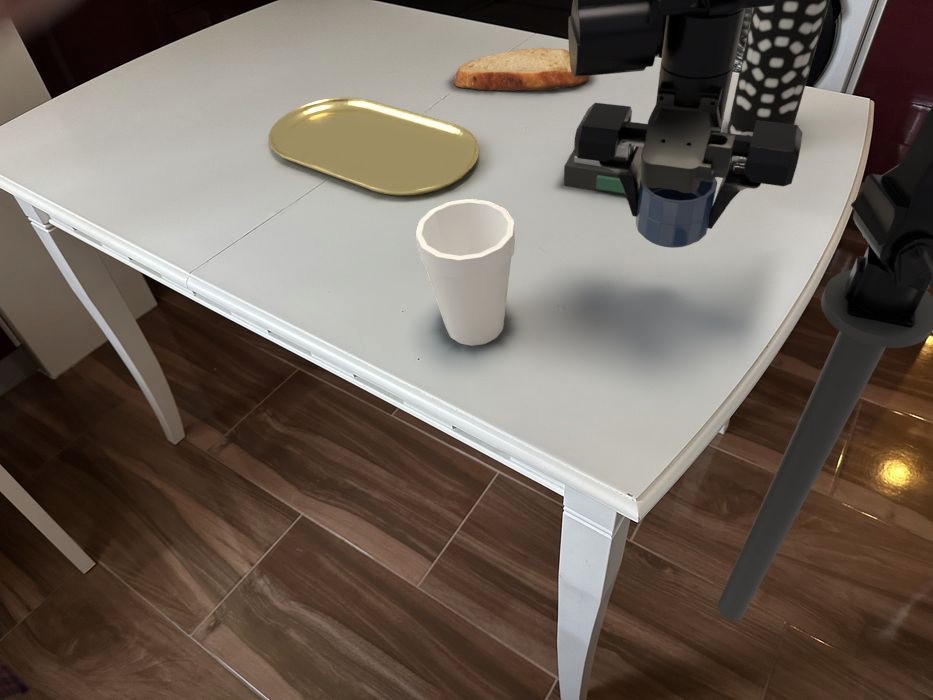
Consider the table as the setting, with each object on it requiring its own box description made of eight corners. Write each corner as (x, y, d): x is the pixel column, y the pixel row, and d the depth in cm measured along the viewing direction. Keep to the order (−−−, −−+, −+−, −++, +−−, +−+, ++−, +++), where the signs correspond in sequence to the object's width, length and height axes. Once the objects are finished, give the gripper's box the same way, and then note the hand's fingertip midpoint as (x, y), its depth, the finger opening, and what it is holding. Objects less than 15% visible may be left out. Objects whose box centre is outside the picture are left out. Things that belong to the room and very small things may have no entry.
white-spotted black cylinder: (722, 147, 94) (754, -8, 79) (730, 117, 99) (762, -33, 84) (787, 155, 91) (833, -3, 77) (792, 124, 96) (836, -30, 82)
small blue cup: (711, 214, 69) (722, 166, 65) (700, 256, 64) (710, 207, 60) (643, 204, 71) (649, 157, 67) (628, 243, 67) (633, 196, 63)
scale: (689, 153, 94) (693, 128, 91) (669, 205, 86) (673, 179, 83) (589, 139, 98) (591, 115, 95) (562, 187, 91) (563, 162, 88)
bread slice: (445, 81, 114) (443, 59, 112) (527, 46, 121) (527, 24, 118) (514, 118, 104) (513, 95, 101) (599, 78, 110) (601, 55, 108)
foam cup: (489, 368, 70) (480, 271, 60) (415, 338, 74) (396, 242, 64) (533, 310, 75) (531, 213, 66) (462, 285, 79) (451, 190, 69)
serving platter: (329, 97, 114) (326, 87, 113) (505, 147, 99) (504, 137, 97) (245, 150, 104) (242, 141, 103) (426, 216, 89) (425, 206, 88)
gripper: (556, 97, 54) (555, 253, 65) (814, 126, 48) (763, 292, 59) (594, 38, 60) (587, 188, 72) (824, 56, 54) (776, 217, 66)
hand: (671, 220), depth 67 cm, fingers closed on small blue cup, 7 cm apart
